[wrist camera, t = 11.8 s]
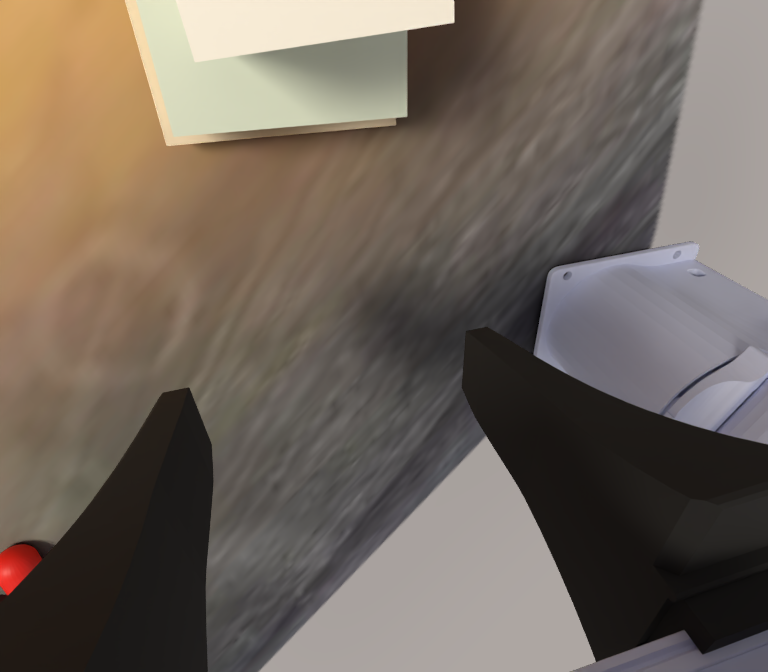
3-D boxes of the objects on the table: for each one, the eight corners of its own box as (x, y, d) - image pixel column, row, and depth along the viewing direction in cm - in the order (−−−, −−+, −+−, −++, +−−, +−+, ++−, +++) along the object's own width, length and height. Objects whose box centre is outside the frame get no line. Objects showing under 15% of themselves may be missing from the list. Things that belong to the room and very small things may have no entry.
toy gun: (115, 622, 34) (101, 701, 30) (-107, 625, 28) (-160, 724, 24) (154, 541, 30) (143, 619, 26) (-95, 525, 24) (-156, 624, 20)
